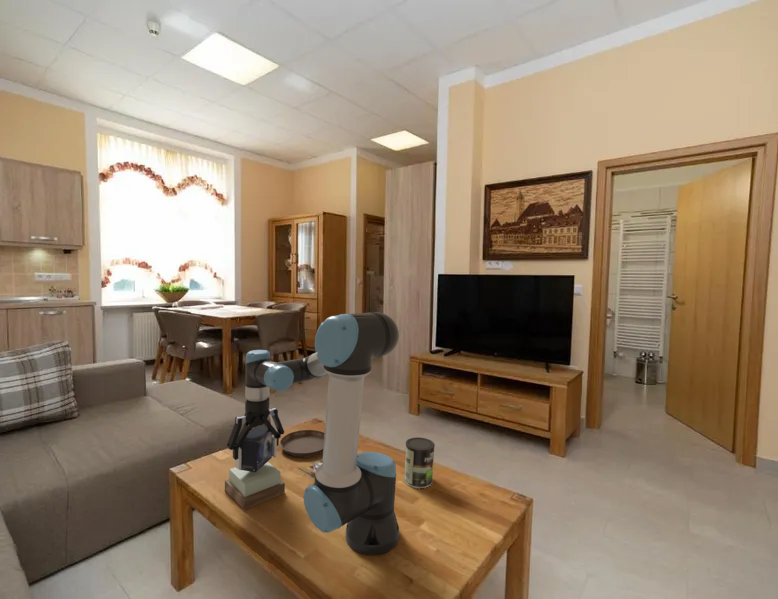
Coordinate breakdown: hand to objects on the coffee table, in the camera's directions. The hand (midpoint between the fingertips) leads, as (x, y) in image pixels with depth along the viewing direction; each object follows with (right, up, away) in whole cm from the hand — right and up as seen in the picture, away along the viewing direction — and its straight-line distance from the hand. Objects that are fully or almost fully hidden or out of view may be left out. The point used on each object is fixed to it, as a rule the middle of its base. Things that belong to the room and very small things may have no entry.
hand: (256, 461), depth 129 cm
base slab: (-1, -11, +1) cm, 11 cm away
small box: (0, -1, 0) cm, 1 cm away
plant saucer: (+9, -8, +33) cm, 36 cm away
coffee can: (+54, -12, +11) cm, 57 cm away
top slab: (-1, -7, 0) cm, 7 cm away
